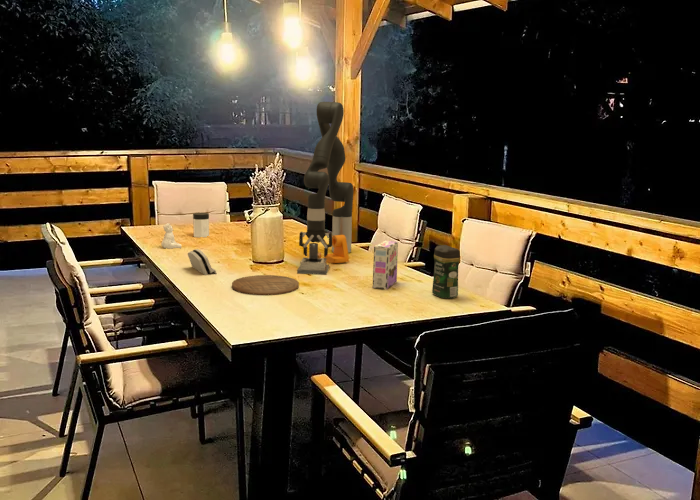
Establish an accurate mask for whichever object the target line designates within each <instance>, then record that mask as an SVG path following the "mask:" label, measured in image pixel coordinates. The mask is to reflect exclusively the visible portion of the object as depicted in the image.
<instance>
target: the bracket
mask: <svg viewBox="0 0 700 500" xmlns="http://www.w3.org/2000/svg"><path fill="white" fill-rule="evenodd" d="M332 246H333V247H334V252H333V253H332V252H331V253H328V254H327V256H326V257H323V258H327V263H329V264H340V263H347V262H348V263H349V262H350V256H349V254H350V253H348V248H347V241H346V237H345V235H333V236H332ZM332 246H331V247H332Z"/></svg>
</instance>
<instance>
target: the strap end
mask: <svg viewBox="0 0 700 500" xmlns="http://www.w3.org/2000/svg"><path fill="white" fill-rule="evenodd" d="M327 263H328V262H327V258H324V257H322V252H319V251H318V262H309V257H305V256H304V257H302V259H301V261H300V263H299V264H300V265H299V266H300V270H325V268H326V265H328V264H327Z"/></svg>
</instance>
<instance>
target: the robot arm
mask: <svg viewBox="0 0 700 500" xmlns="http://www.w3.org/2000/svg"><path fill="white" fill-rule="evenodd" d="M344 111H345V110H344V105H343V103H342V102H336V101H320V102H318V103H317V105H316V118H317V123H318V127H319V130H320V134H321V135H320V136H321V138H320V139H319V140H318V142H317V143H316V145H315V147H314V152H313V156H312V160H311V162H310V164H309V166H308V168H307V170H306V171H305V174H304V177H303V183H304V186H305V187H306V188H309V189H318V190H317V192H316V193H310V194H308V196H307V213H306V214H307V215H306V232H305V231H299V237H298V238H299V242H298V246H300V247H302V249H303V255H304V257H308V247H307V246H309V244H310V243H317V244H319V243H321V245H322V246H323V247H324V249H323V252H324V254H323V256H324V257H326V256H327V254H329V253H328V252H329V248H331V253H332V252H334V247H333V246H332V236H333V235H345V237H346V241H347V248H348V254H350V253H351V252H352V236H353V235H352V230H353V229H352V226H353V224H352V222H353V207H354V206H353V205H354V204H353V202H354V185H353V183H352V182H346V181H345V182H343V181H342V182H341V181H338V179H337V177H338V175H339V173H340V171H341V170H342V168H343V166H344V165H345V163H346V152H345V147H344V144H343V142H342V141H341V140H340V138H339V137H338V136H337V135H338V133H339V131H340V127H341V125H342V122H343V119H344V113H345V112H344ZM324 169H326V170H327V171H321V170H324ZM328 189H329V190H328ZM327 191H329V197H330V199H331V200H332V202H339V203H343V204H344V205H342V206H340V207H338V208H335V209H333V210H332V220H331V221H332V225H331V226H332V228H331V230H332V231H331V232H326V229H325V228H326V226H325V225H326V223H325V222H326V212H325V211H326V210H325V202H326V201H325V199H326V193H327ZM305 236H306V237H307V240H306V241H305V243H304V237H305ZM325 237H327V239H328V243H327V242H326V241H325V239H324V238H325ZM324 257H323V258H324Z"/></svg>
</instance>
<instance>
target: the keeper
mask: <svg viewBox="0 0 700 500" xmlns="http://www.w3.org/2000/svg"><path fill="white" fill-rule="evenodd" d="M308 247H309V248H308V251H309V253H308V258H309V262H318V252H319V243H317V242H309V244H308ZM329 269H330V266H329V264H327V265H326V268H325V270H300V265H299V266H298V268H297V270H296V274H298V275H299V274H300V275H327V273H328V272H329Z"/></svg>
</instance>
